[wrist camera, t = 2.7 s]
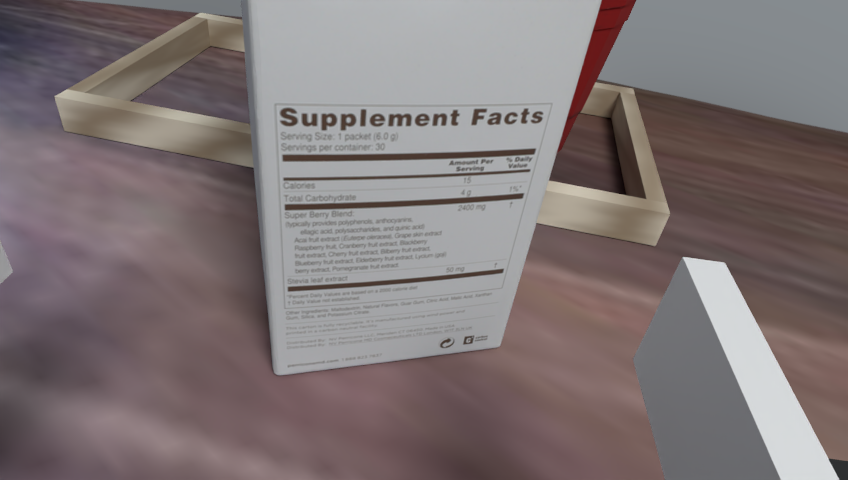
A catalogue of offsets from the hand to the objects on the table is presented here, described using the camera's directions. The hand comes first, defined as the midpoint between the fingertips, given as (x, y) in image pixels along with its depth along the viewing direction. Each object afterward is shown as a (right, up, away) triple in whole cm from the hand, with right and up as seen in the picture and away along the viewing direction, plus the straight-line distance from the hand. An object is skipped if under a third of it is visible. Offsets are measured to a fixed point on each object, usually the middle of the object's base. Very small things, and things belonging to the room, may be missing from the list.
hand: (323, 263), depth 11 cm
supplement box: (0, -2, +14) cm, 14 cm away
